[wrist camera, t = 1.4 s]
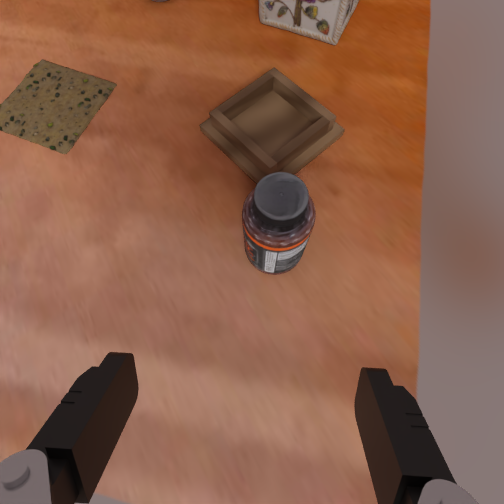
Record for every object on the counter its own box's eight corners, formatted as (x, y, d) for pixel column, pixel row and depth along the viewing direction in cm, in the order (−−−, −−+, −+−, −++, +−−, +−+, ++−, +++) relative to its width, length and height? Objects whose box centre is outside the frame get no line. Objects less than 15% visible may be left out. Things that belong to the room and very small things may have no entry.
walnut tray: (200, 130, 39) (196, 112, 37) (273, 79, 42) (274, 58, 39) (268, 195, 36) (269, 180, 33) (342, 135, 39) (349, 116, 36)
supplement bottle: (238, 230, 35) (230, 168, 24) (292, 217, 35) (307, 150, 25) (253, 283, 33) (252, 240, 22) (310, 268, 33) (334, 219, 23)
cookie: (120, 85, 43) (117, 79, 42) (68, 157, 39) (64, 152, 38) (44, 61, 44) (39, 54, 44) (-13, 127, 41) (-19, 122, 40)
